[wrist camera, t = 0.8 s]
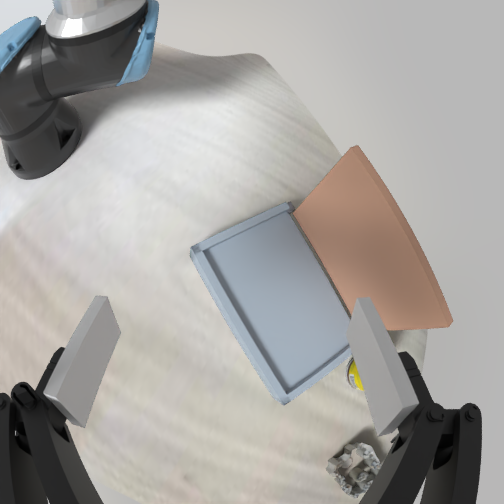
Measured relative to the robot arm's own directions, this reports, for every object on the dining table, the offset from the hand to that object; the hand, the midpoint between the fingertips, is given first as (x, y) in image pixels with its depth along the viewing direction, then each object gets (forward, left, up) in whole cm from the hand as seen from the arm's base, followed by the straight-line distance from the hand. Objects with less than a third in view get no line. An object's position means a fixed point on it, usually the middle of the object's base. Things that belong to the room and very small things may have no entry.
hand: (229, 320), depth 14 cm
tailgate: (+2, +17, -18) cm, 25 cm away
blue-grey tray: (+2, +10, -21) cm, 24 cm away
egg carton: (+33, +7, -22) cm, 40 cm away
